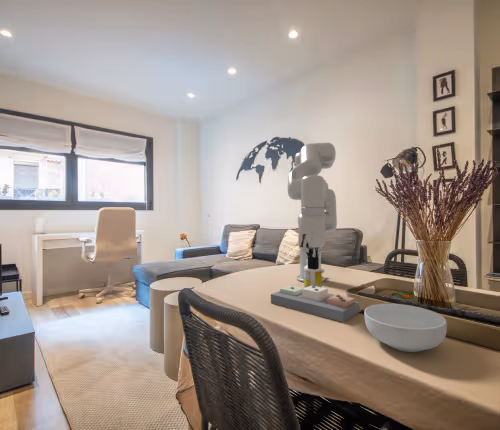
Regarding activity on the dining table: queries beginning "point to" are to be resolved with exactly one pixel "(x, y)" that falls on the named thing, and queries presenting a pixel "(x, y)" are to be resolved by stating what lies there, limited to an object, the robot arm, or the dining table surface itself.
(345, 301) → the pink block
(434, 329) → the cereal bowl
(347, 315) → the grey flat board
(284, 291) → the knob block
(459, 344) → the dining table surface
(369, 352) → the dining table surface
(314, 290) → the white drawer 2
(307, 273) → the supplement bottle
